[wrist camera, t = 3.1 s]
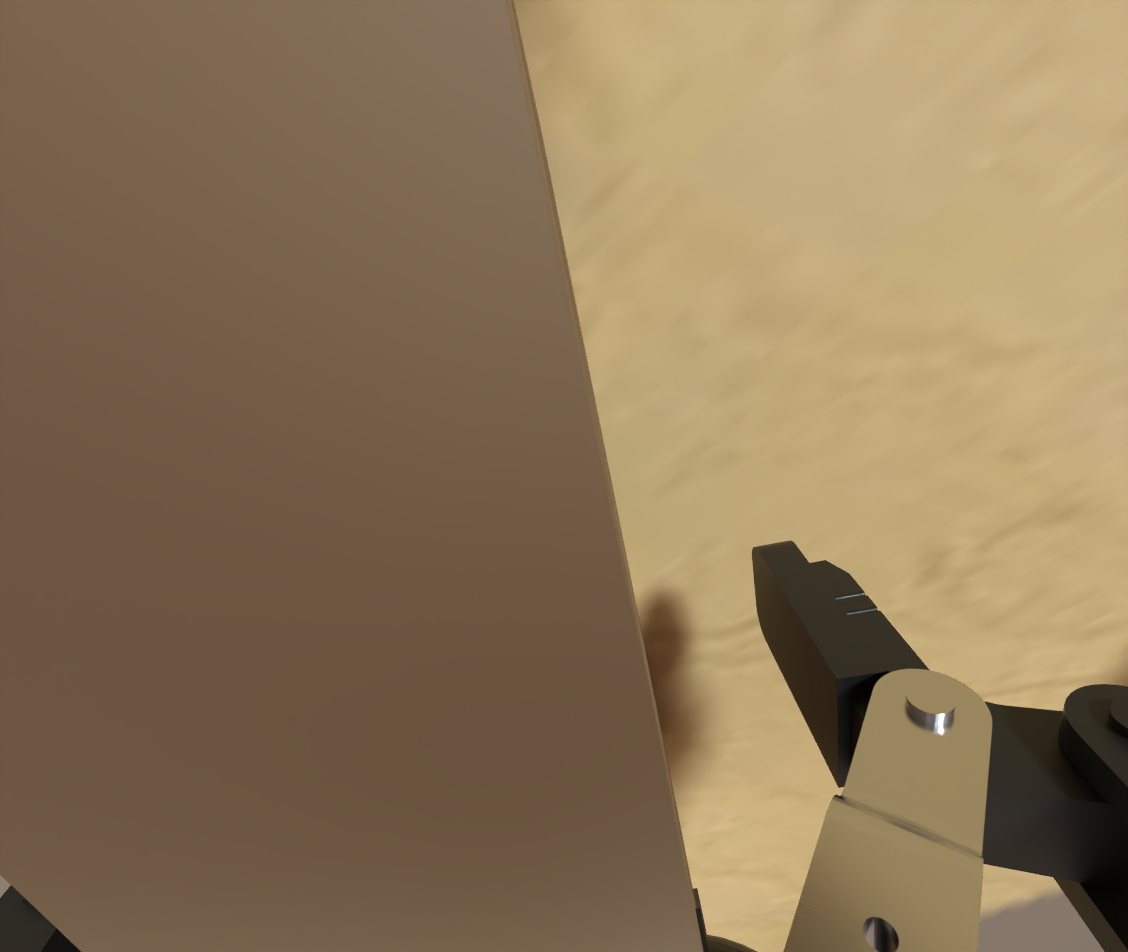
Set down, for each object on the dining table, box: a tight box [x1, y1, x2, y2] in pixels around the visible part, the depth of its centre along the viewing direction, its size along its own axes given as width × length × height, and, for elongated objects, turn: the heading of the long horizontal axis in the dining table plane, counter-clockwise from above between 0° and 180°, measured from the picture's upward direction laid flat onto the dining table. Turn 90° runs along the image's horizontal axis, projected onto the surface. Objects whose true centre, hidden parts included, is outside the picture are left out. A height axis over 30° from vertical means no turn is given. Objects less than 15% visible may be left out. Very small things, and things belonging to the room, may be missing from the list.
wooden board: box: [0, 0, 707, 952], centre depth 10 cm, size 18×3×12 cm, turn 12°
